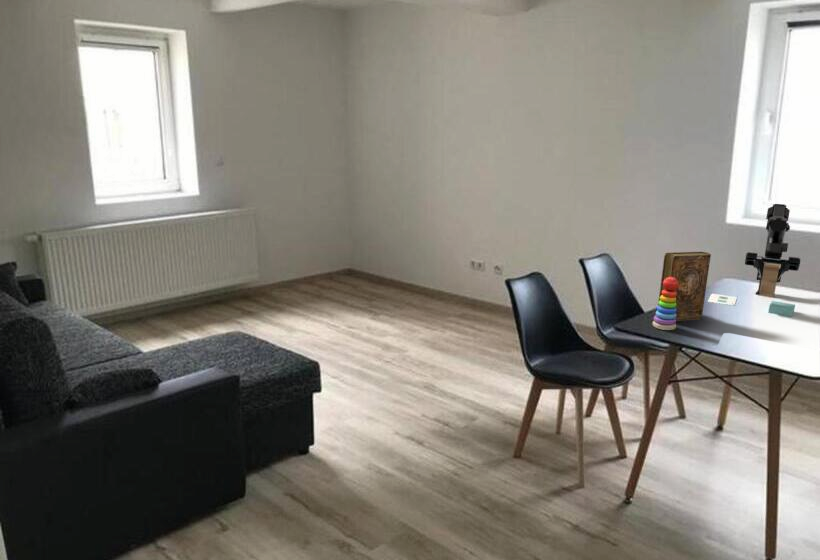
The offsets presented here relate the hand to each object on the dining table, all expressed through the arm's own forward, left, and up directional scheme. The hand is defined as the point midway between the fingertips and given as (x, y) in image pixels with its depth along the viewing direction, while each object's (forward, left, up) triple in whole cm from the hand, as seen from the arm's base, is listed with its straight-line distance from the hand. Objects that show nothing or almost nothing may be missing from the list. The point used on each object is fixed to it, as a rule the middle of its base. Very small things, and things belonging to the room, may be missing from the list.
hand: (769, 279), depth 252 cm
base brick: (-4, +6, -13) cm, 15 cm away
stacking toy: (+44, -26, -14) cm, 53 cm away
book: (+29, -24, -14) cm, 40 cm away
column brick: (-1, 0, -6) cm, 7 cm away
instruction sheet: (-8, -16, -13) cm, 23 cm away
